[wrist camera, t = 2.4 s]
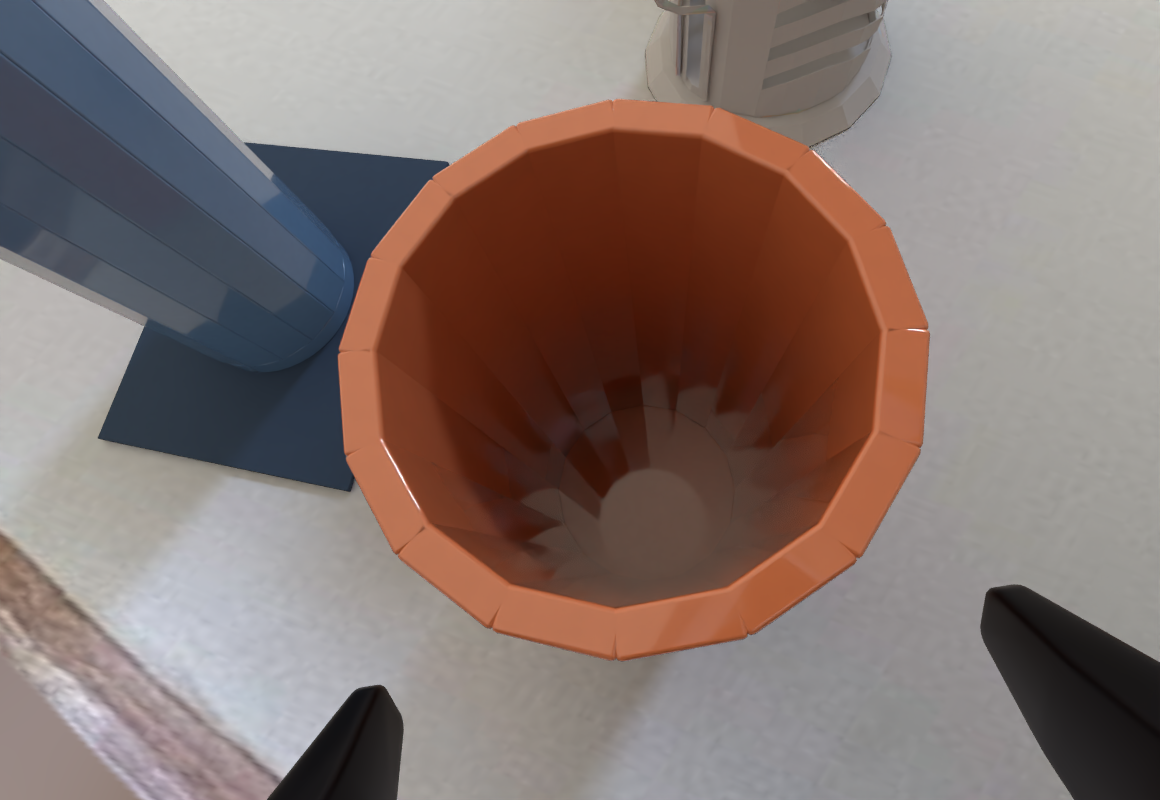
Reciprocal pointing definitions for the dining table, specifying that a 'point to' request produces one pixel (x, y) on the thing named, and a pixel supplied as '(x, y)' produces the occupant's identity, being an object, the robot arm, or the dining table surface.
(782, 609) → the terracotta tumbler
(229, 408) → the blue pad
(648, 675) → the dining table surface
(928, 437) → the dining table surface
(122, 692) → the dining table surface
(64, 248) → the blue tumbler
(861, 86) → the french press
